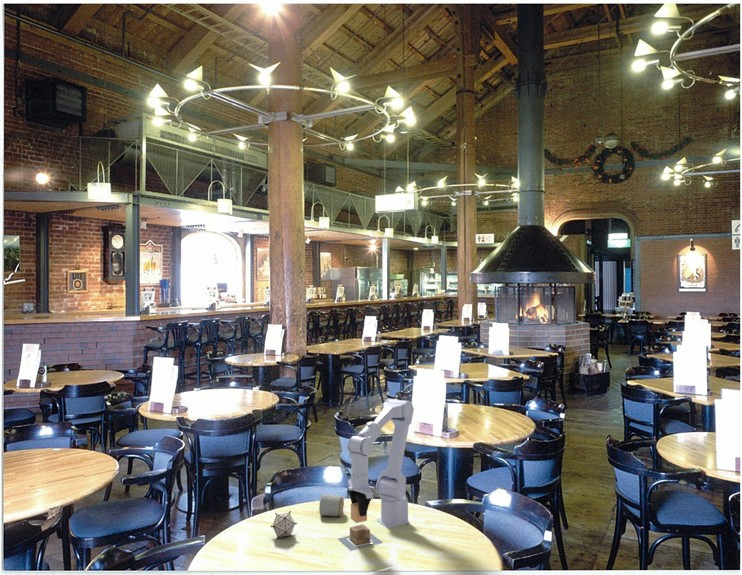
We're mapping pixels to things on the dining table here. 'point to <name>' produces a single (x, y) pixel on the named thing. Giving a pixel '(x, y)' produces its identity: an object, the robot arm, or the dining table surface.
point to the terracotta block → (357, 514)
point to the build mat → (353, 546)
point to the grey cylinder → (331, 505)
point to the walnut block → (359, 534)
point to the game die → (283, 525)
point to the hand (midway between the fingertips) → (359, 513)
